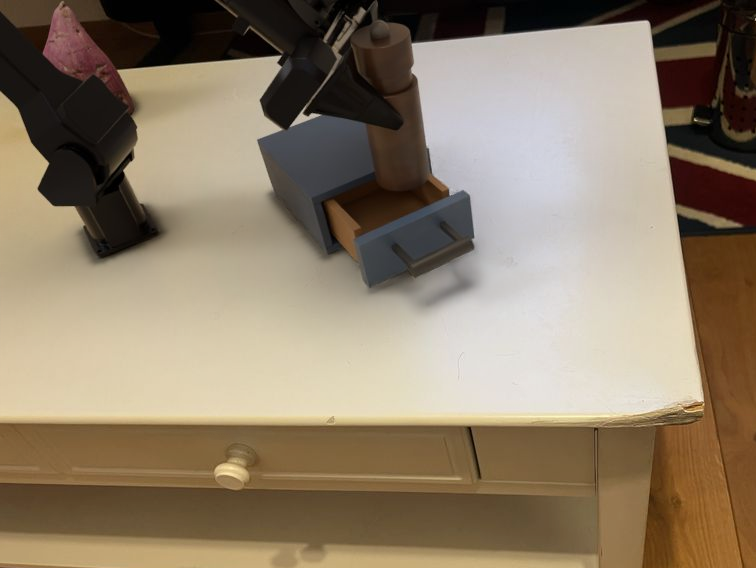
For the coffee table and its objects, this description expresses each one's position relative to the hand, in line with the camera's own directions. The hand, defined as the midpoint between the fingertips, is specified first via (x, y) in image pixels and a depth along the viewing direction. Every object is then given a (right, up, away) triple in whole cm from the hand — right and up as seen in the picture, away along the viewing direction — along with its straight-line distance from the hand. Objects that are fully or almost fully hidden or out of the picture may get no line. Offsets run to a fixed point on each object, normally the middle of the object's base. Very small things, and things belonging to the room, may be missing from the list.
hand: (407, 110), depth 62 cm
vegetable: (-44, +11, +35) cm, 57 cm away
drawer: (-1, -10, +8) cm, 13 cm away
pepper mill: (-1, -4, +5) cm, 7 cm away
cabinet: (-7, -5, +15) cm, 17 cm away
